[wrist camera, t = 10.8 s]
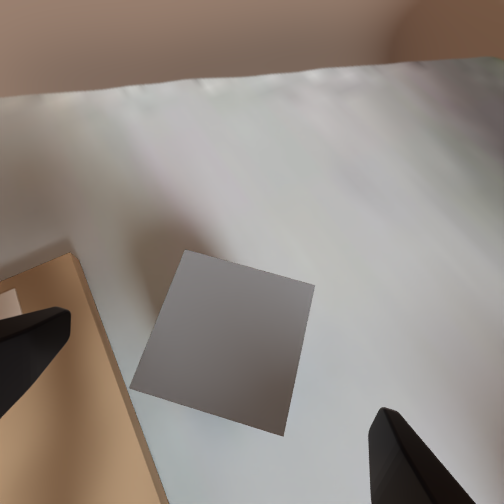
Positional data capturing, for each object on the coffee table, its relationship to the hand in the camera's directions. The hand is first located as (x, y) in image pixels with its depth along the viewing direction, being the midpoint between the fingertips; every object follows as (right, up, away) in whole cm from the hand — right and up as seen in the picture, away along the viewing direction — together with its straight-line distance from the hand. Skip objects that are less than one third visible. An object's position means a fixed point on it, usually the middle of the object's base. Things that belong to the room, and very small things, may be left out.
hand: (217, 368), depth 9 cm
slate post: (0, -3, +9) cm, 9 cm away
